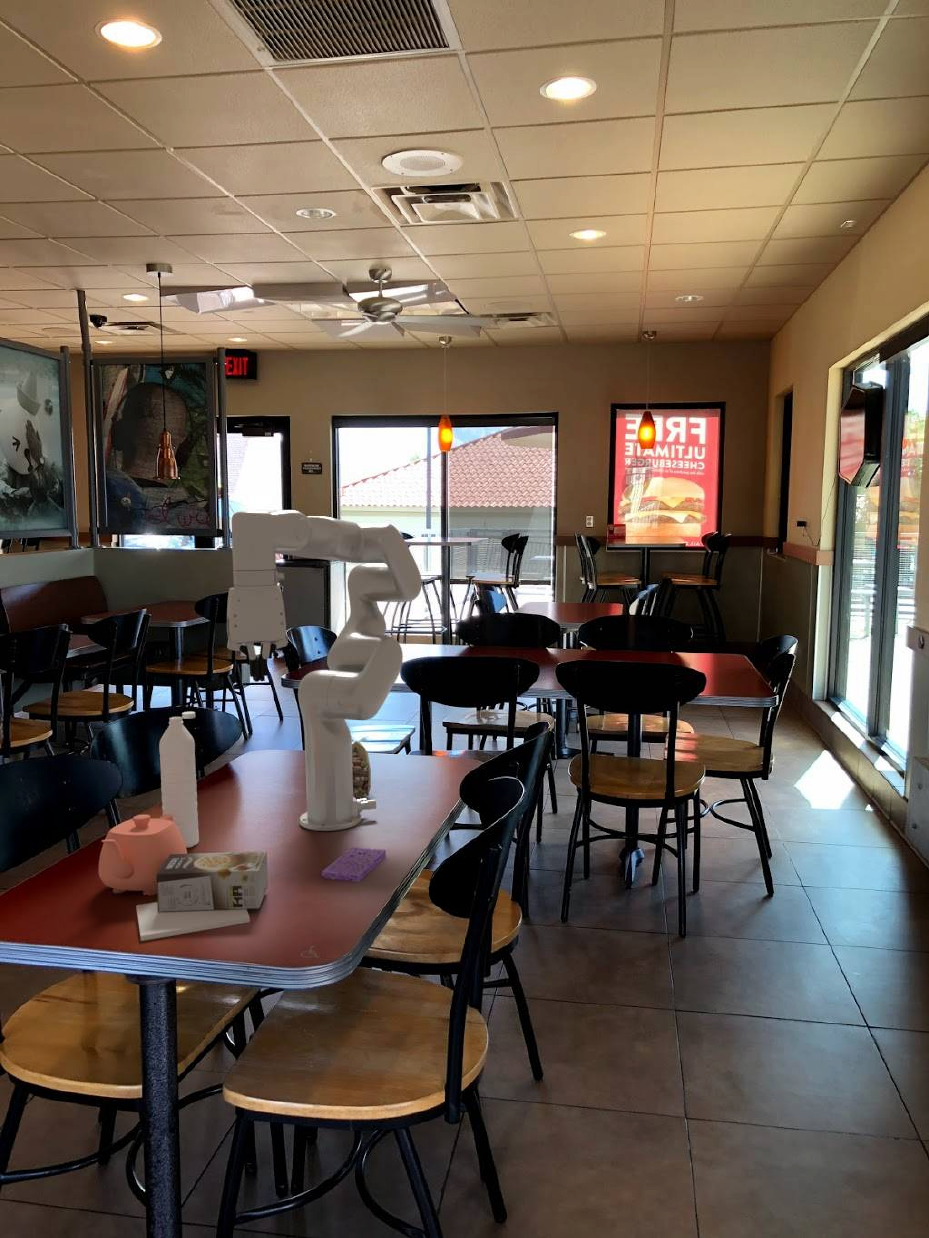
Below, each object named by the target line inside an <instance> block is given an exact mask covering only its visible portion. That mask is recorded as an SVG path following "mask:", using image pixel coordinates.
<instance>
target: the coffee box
mask: <svg viewBox="0 0 929 1238" xmlns="http://www.w3.org/2000/svg"><path fill="white" fill-rule="evenodd" d="M156 876H157V894H156V899H157V900H156V902H157V906H158V912H165V911H194V910H222V909H246V910H248V909H260V908H261V905H262V903H263V900H264V898H265V894H266V892H267V889H268V887H269V881H268V880H269V879H268V876H269V874H268V852H267V850H265V851H264V850H259V851H258V850H257V851H256V850H255V851H235V852H233V851H231V852H228V851H227V852H201V853H198V852H197V853H187V854H170V856H169V857H168V858H167V860H166V861H165V863H164V864H163V866H162V867H161V869H160V870H159V872H158V873H157V875H156Z"/></svg>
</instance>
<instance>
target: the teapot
mask: <svg viewBox="0 0 929 1238" xmlns="http://www.w3.org/2000/svg"><path fill="white" fill-rule="evenodd" d="M101 842H102V843H103V844H102V848H101V851H100V855H99V860H98V876H99V878H100V880H101V882H102V883H103V884H104V885H105V887H109V888H110V889H111V888H112V889H113V890H112V893H113V894H122V893H125V892H127V891H139V892H140V891H142V892H143V894H142V895H143V896H145V895H148V896H147V897H150V896H151V895H152V896H155V895H157V894H156V893H157V876H156V875H157V873H158V872H159V870H160V869H161V867H162V866H163V864H164V863H165V861H166V860H167V858H168V857H169V856H170V854H188V850H187V848H186V846H185V843H184V840H183V838H182V835H181V833H180V831H179V830H178V828H177V826H176V824H175V823H174V822H173V816H172V815H171V814H164V815H163V814H162V815H161V816H160V817H158V818H151V815H150V814H138V815H135V816H133V817H132V818H131V819H128V820H125V821H123V822H121V823H119V824H117V825H116V826H114V827H112V828H111V829H109V831H108V832H107V834H106V837H105V839H102V840H101ZM126 890H127V891H126ZM149 895H150V896H149ZM152 896H151V897H152Z"/></svg>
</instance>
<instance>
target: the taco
mask: <svg viewBox="0 0 929 1238" xmlns="http://www.w3.org/2000/svg"><path fill="white" fill-rule="evenodd" d="M352 770H353V797H354V798H355V799H356V800H360V799H365V798H366V799H367V797H368V796H369V795H370V791H371V787H372V786H371V785H372V781H371V780H372V775H371V774H372V773H371V771H372V770H371V762H370V758H369V753H368V751H367V750H366V748H365V747H364V745H363V744H362V743H361V742H360V741H356V740H355V741H354V742H352Z"/></svg>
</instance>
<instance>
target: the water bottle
mask: <svg viewBox="0 0 929 1238" xmlns="http://www.w3.org/2000/svg"><path fill="white" fill-rule="evenodd" d="M181 715H182V716H171V717H169V719H168V720H169V722H168V724H169V725H168V726H167V729H165V731H164V733H163V735H162V737H161V738H160V740H159V743H158V745H159V747H158V748H159V749H158V750H159V755H160V756H159V760H160V762H159V763H160V780H161V782H160V788H161V789H160V791H161V803H162V804H161V808H162V815H164V814H171V815H172V816H173V822H174V823H175V824H176V826H177V828H178V830H179V831H180V833H181V835H182V838H183V840H184V843H185V846H186V849H187V848H188V849H189V848H193V847H195V846H196V845H198V844H199V841H200V837H199V835H200V834H199V833H200V832H199V820H198V817H199V813H198V812H199V811H198V800H197V799H198V794H197V793H198V792H197V788H198V787H197V778H196V777H197V773H196V772H197V771H196V754H195V752H196V751H195V750H196V748H195V747H196V743H195V739H194V737H193V735H192V734H191V733H190V731H189V730H188V729H187V727H185V725H184V721H183V719H184V720H185V719H195V718H196V712H195V711H184V712H182V713H181Z"/></svg>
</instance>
